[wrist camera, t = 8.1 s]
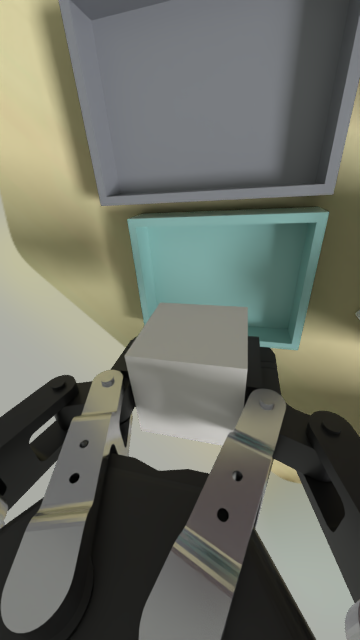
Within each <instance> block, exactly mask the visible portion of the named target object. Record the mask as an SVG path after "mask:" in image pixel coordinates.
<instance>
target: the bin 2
mask: <svg viewBox="0 0 360 640" xmlns="http://www.w3.org/2000/svg"><path fill="white" fill-rule="evenodd" d="M328 216H329V212H328V211H326V210H324V209H322V208H320V207H297V208H271V209H246V210H221V211H196V212H170V213H145V214H139V215H137V216H134V217H131V218H129V219H127V221H128V227H129V233H130V240H131V246H132V252H133V258H134V264H135V270H136V277H137V283H138V289H139V295H140V301H141V308H142V314H143V320H144V326H145V324H146V323H147V321H148V320H149V318H150V317H151V315H152V314H153V312H154V311H155V309H156V308H157V306H158V305H159V303H178V304H198V305H217V306H237V307H248V336H257V337H259V341H260V347H270V348H278V349H289V350H298V348H299V344H300V339H301V335H302V331H303V326H304V322H305V317H306V313H307V309H308V304H309V300H310V295H311V291H312V286H313V282H314V278H315V273H316V269H317V264H318V260H319V255H320V251H321V247H322V242H323V238H324V233H325V229H326V224H327V220H328Z"/></svg>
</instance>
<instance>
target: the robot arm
mask: <svg viewBox="0 0 360 640" xmlns="http://www.w3.org/2000/svg"><path fill="white" fill-rule="evenodd" d="M136 338H137V337H135V338H134V339H133V340H131V341H130V342H129V344H128V345H127V347H126V348H125V350H124V351H123V353H122V354H121V355H120V357H119V358H118V360H117V361H116V363H115V364H114V366H113V367H112V368H111V370H107V371H104V372H102V373H100V374H98V375H97V376H96V377H95V378H94V379H93V381H91V382H83V383H76V381H75V379H74V377H72V376H70V375H62V376H58V377H56V378H54V379H52V380H50V381H49V382H48V383H47V384H45V385H44V386H42V387H41V388H39V389H38V390H37V391H35V392H34V393H33V394H31V395H30V396H29V397H27V398H26V399H25V400H23V401H22V402H20V403H19V404H18V405H16V406H15V407H14V408H12V409H11V410H10V411H8V412H7V413H6V414H4V415H3V416H1V417H0V640H316V638H315V637H314V635H313V633H312V631H311V629H310V628H309V626H308V624H307V622H306V620H305V619H304V617H303V615H302V613H301V611H300V610H299V608H298V606H297V604H296V602H295V600H294V599H293V597H292V595H291V593H290V591H289V590H288V588H287V586H286V584H285V582H284V580H283V579H282V577H281V575H280V573H279V571H278V570H277V568H276V566H275V564H274V563H273V561H272V559H271V557H270V555H269V553H268V551H267V550H266V548H265V546H264V544H263V542H262V541H261V539H260V537H259V536H258V533H257V532H256V530H255V528H256V524H257V520H258V517H259V513H260V509H261V505H262V501H263V497H264V494H265V490H266V486H267V483H268V479H269V475H270V471H271V468H272V464H273V460H274V459H276V460H278V461H280V462H282V463H283V464H285V465H287V466H289V467H291V468H293V469H295V470H296V471H297V474H298V476H299V478H300V480H301V483H302V485H303V487H304V489H305V492H306V494H307V496H308V498H309V501H310V503H311V505H312V508H313V510H314V512H315V514H316V516H317V519H318V521H319V523H320V526H321V528H322V530H323V532H324V534H325V537H326V539H327V541H328V544H329V546H330V548H331V550H332V553H333V555H334V557H335V559H336V562H337V564H338V566H339V568H340V571H341V573H342V575H343V578H344V580H345V582H346V584H347V587H348V589H349V591H350V594H351V596H352V598H353V600H354V602H355V604H354V605H352V606H351V608H350V609H349V610H348V612H347V615H346V618H345V632H346V637H347V640H360V437H359V436H358V434H357V433H356V432H355V430H354V429H353V428H352V426H351V425H350V424H349V423H348V422H347V421H346V420H345V419H344V418H342V417H341V416H339V415H337V414H335V413H332V412H328V411H317V412H314V413H313V414H312V415H311V416H310V415H307V414H305V413H302V412H300V411H298V410H295V409H294V408H292V407H291V406H289V405H288V404H287V403H286V402H285V400H284V399H283V397H282V396H281V392H280V385H279V378H278V372H277V365H276V358H275V354H274V353H273V351H272V350H271V349H270V347H260V341H259V337H257V336H248V370H247V380H246V390H245V399H244V409H243V411H242V413H241V416H240V418H239V420H238V422H237V425H236V427H235V429H234V431H233V432H230V433H229V434H228V436H227V438H226V440H225V442H224V444H223V446H222V448H221V451H220V453H219V455H218V457H217V459H216V461H215V463H214V465H213V468H212V470H211V472H210V474H208V473H203V472H199V471H194V470H189V469H184V470H167V471H158V470H156V469H154V468H152V467H150V466H149V465H147V464H145V463H143V462H141V461H140V460H138V459H136V458H133V457H129V446H130V437H131V428H132V419H133V416H132V411H133V409H134V407H136V405H135V400H134V396H133V391H132V387H131V383H130V378H129V374H128V369H127V365H126V361H125V354H126V353H127V351H128V350H129V348H130V347H131V345H132V344H133V342H134V341H135V339H136ZM53 416H55V418H56V421H55V422H54V423H53V424H52V425H51V426H50V427H48V428H47V429H46V430H45V431H44V432H43V433H42V434H40V435H39V436H38V437H37V438H36V439H35V440H34V441H33V442H31V443H30V444H29V440H30V438H31V436H32V434H33V433H34V432H35V431H37V430H38V429H39V428H40V427H41V426H42V425H44V424H45V423H46V422H47V421H48V420H49V419H50V418H52V417H53ZM56 461H57V463H56V465H55V468H54V471H53V474H52V476H51V479H50V482H49V485H48V487H47V490H46V493H45V496H44V497H43V498H42V499H41V500H39V501H38V502H37V503H35V504H34V505H33V506H31V507H30V508H28V509H27V510H25V511H24V512H23V513H21V514H20V515H19V516H17V517H16V518H14V519H13V520H12V521H10V522H9V523H7V524H6V525H5V523H4V519H5V517H6V514H7V511H8V510H9V509H10V508H11V507H12V506H13V505H14V504H15V503H16V502H17V501H18V500H19V499H20V498H21V497H22V496H23V495H24V494H25V493H26V492H27V491H28V490H29V489H30V488H31V487H32V486H33V485H34V483H35V482H36V481H37V480H38V479H39V478H40V477H41V476H42V475H43V474H44V473H45V472H46V471H47V470H48V469H49V468H50V467H51V466H52V465H53V464H54V463H55V462H56Z"/></svg>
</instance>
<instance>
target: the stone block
mask: <svg viewBox="0 0 360 640" xmlns="http://www.w3.org/2000/svg"><path fill="white" fill-rule="evenodd" d="M125 361H126V365H127V369H128V374H129V378H130V383H131V387H132V391H133V396H134V400H135V405H136V409H137V413H138V417H139V422H140V426H141V431H146V432H151V433H157V434H162V435H168V436H173V437H179V438H184V439H190V440H195V441H201V442H206V443H211V444H217V445H222V446H223V444H224V442H225V440H226V438H227V436H228V434H229V433H230V432H233V431H234V429H235V427H236V425H237V422H238V420H239V418H240V416H241V413H242V411H243V409H244V399H245V390H246V380H247V370H248V307H237V306H217V305H198V304H178V303H159V305H158V306H157V308H156V309H155V311H154V312H153V314H152V315H151V317H150V318H149V320H148V321H147V323H146V324H145V326H144V327H143V329H142V330H141V332H140V333H139V335H138V336H137V338H136V339H135V341H134V342H133V344H132V345H131V347H130V348H129V350H128V351H127V353H126V354H125Z"/></svg>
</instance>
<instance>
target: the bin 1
mask: <svg viewBox="0 0 360 640" xmlns="http://www.w3.org/2000/svg"><path fill="white" fill-rule="evenodd" d="M59 5H60V10H61V15H62V19H63V24H64V29H65V34H66V39H67V44H68V48H69V53H70V58H71V63H72V68H73V73H74V77H75V82H76V87H77V92H78V97H79V102H80V106H81V111H82V116H83V121H84V126H85V131H86V135H87V140H88V145H89V150H90V155H91V160H92V164H93V169H94V174H95V179H96V184H97V189H98V193H99V198H100V203H101V206H112V205H132V204H152V203H172V202H192V201H213V200H233V199H253V198H273V197H293V196H313V195H333V193H334V189H335V185H336V180H337V176H338V171H339V167H340V162H341V158H342V154H343V149H344V145H345V140H346V136H347V132H348V127H349V123H350V118H351V114H352V109H353V105H354V101H355V96H356V92H357V87H358V83H359V78H360V0H59Z"/></svg>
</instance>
